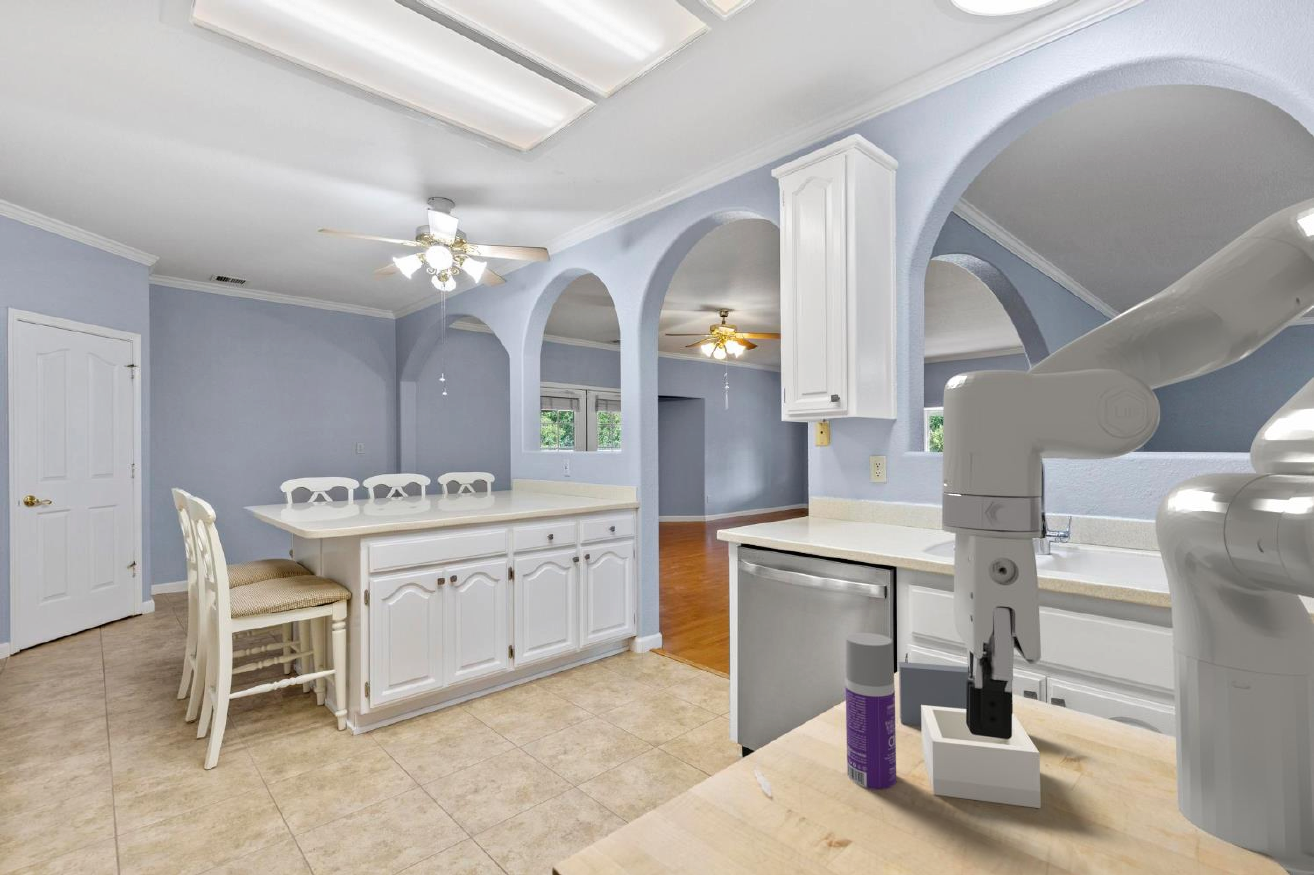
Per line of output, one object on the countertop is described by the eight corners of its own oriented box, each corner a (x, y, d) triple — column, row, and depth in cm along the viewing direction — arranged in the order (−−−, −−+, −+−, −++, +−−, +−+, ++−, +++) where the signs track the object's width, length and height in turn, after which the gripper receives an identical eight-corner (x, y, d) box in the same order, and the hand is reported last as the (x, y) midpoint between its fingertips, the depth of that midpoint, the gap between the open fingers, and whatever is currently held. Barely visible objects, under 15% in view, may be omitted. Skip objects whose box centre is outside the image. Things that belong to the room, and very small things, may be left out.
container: (900, 804, 61) (897, 647, 61) (849, 799, 62) (847, 644, 62) (892, 780, 65) (889, 633, 66) (845, 775, 66) (842, 631, 67)
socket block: (1014, 761, 66) (1013, 713, 66) (1040, 808, 58) (1039, 752, 58) (922, 751, 69) (921, 704, 69) (933, 794, 60) (932, 741, 60)
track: (1009, 738, 74) (1007, 670, 75) (1063, 831, 56) (1061, 740, 56) (900, 727, 78) (898, 661, 78) (918, 811, 60) (916, 725, 60)
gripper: (1070, 527, 46) (1069, 783, 46) (1016, 511, 60) (1014, 706, 60) (957, 522, 48) (955, 767, 48) (930, 507, 63) (928, 695, 62)
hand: (988, 732), depth 54 cm, fingers closed
